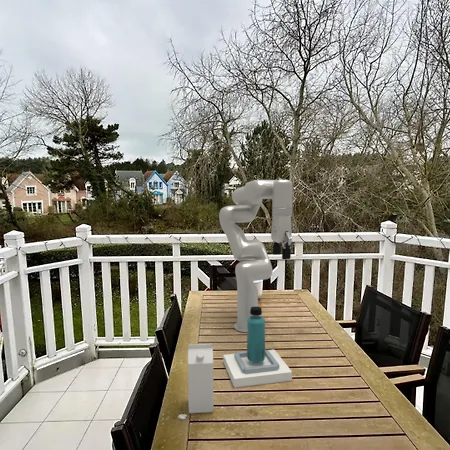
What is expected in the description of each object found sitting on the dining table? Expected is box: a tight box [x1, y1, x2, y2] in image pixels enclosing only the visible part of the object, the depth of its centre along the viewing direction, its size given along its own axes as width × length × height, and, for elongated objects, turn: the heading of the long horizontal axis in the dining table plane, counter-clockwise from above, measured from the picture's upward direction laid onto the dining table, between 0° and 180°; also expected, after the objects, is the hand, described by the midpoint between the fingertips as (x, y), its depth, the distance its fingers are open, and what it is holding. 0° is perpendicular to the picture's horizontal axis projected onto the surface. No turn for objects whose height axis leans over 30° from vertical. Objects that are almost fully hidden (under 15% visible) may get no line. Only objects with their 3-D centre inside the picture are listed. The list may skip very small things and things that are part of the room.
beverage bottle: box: [246, 306, 266, 363], centre depth 122 cm, size 6×7×20 cm
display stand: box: [222, 348, 293, 389], centre depth 123 cm, size 17×20×4 cm
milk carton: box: [187, 343, 214, 414], centre depth 102 cm, size 7×7×19 cm
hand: (281, 256), depth 134 cm, fingers open, 9 cm apart
